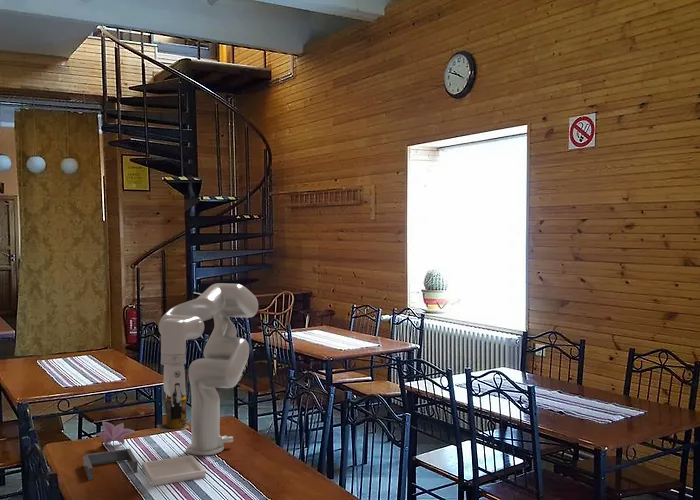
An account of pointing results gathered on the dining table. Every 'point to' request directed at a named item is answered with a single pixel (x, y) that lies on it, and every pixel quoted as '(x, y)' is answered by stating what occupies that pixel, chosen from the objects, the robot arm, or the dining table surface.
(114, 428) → the lily
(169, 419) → the condiment
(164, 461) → the tray
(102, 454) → the bracket
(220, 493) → the dining table surface
